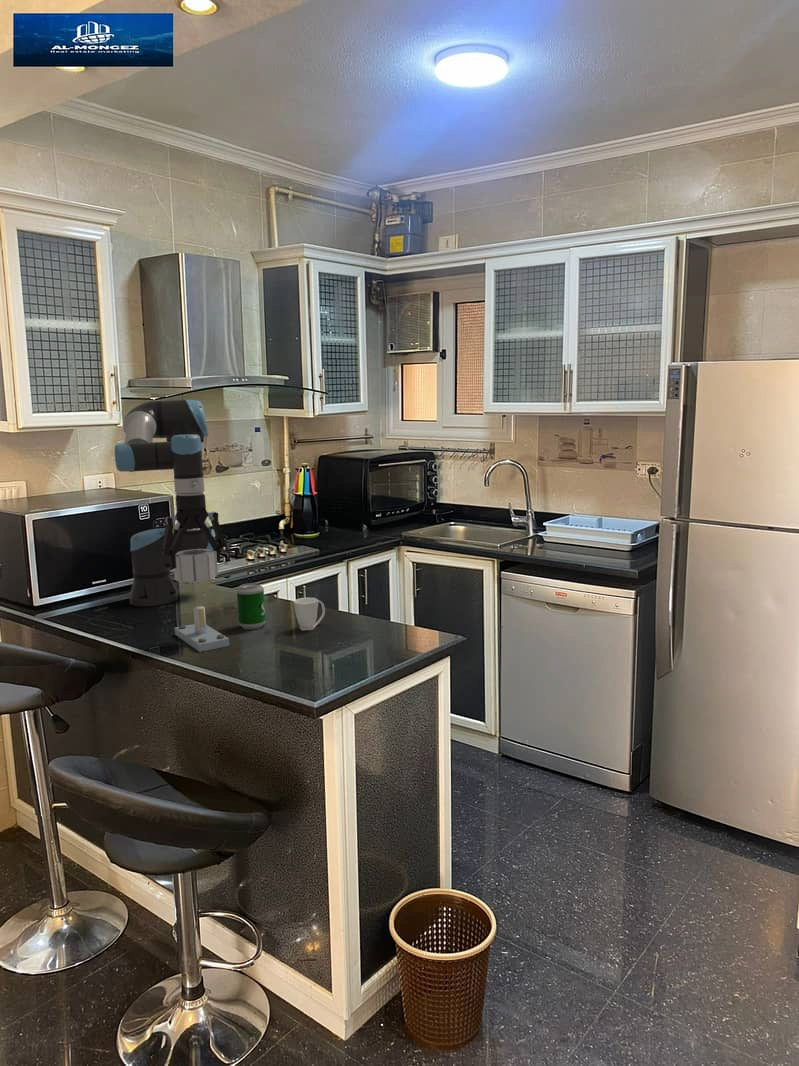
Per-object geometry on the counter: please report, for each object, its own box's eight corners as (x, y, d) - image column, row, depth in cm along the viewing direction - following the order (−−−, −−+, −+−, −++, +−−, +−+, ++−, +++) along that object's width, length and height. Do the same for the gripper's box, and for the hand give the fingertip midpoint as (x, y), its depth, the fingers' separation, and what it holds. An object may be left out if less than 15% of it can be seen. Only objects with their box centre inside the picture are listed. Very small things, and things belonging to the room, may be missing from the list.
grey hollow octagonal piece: (173, 577, 211) (171, 552, 210) (207, 572, 217) (205, 547, 215) (184, 583, 204) (182, 557, 202) (219, 578, 209) (218, 552, 208)
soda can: (260, 630, 220) (257, 588, 218) (235, 629, 222) (232, 588, 220) (269, 623, 227) (267, 582, 225) (245, 622, 229) (242, 582, 227)
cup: (289, 629, 220) (287, 601, 219) (316, 621, 228) (315, 594, 226) (305, 633, 216) (304, 604, 214) (333, 625, 223) (331, 597, 221)
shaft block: (175, 634, 219) (172, 603, 217) (202, 629, 223) (200, 598, 222) (199, 652, 202) (197, 618, 201) (229, 645, 207) (227, 612, 205)
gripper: (151, 499, 197) (159, 586, 201) (235, 491, 209) (241, 573, 213) (143, 496, 203) (150, 581, 207) (225, 489, 215) (230, 568, 219)
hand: (196, 577), depth 210 cm, fingers closed on grey hollow octagonal piece, 9 cm apart
